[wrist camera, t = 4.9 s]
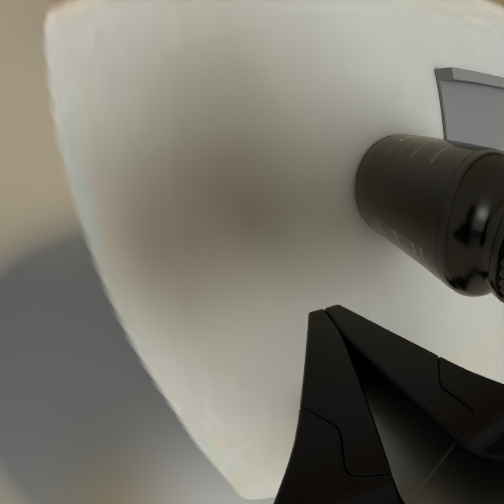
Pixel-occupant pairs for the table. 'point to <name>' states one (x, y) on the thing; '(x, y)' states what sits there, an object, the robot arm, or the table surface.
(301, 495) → the robot arm
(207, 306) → the table surface
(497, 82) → the tray
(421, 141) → the supplement bottle
